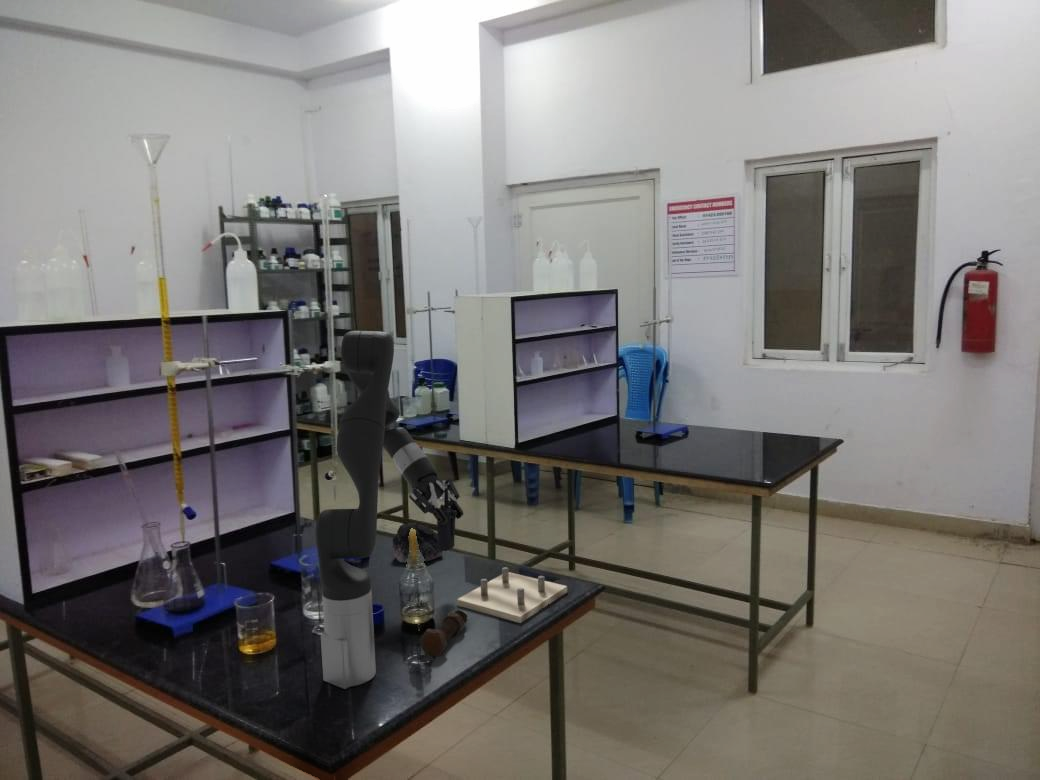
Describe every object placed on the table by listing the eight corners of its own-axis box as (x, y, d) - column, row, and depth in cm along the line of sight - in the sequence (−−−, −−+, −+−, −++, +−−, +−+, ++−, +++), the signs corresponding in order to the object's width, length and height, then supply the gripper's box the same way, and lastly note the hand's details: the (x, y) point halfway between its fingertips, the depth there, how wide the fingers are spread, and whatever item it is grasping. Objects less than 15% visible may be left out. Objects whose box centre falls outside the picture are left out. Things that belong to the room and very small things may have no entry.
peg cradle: (520, 623, 171) (519, 601, 170) (457, 605, 181) (456, 585, 180) (567, 592, 187) (566, 572, 186) (506, 577, 197) (506, 558, 196)
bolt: (465, 632, 171) (435, 662, 157) (446, 619, 172) (415, 647, 158) (476, 612, 170) (447, 640, 156) (458, 599, 171) (427, 626, 157)
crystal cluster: (450, 562, 211) (450, 526, 210) (403, 567, 204) (403, 530, 204) (432, 551, 223) (432, 517, 222) (387, 556, 216) (387, 521, 216)
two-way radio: (444, 544, 192) (443, 485, 190) (461, 546, 190) (460, 486, 188) (435, 551, 186) (434, 491, 184) (452, 553, 185) (451, 492, 183)
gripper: (401, 462, 183) (442, 518, 178) (441, 450, 195) (479, 503, 190) (386, 480, 187) (425, 536, 182) (426, 468, 199) (463, 520, 194)
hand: (453, 519), depth 186 cm, fingers closed on two-way radio, 5 cm apart
